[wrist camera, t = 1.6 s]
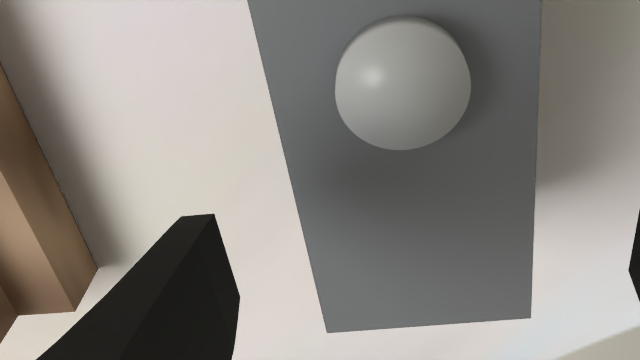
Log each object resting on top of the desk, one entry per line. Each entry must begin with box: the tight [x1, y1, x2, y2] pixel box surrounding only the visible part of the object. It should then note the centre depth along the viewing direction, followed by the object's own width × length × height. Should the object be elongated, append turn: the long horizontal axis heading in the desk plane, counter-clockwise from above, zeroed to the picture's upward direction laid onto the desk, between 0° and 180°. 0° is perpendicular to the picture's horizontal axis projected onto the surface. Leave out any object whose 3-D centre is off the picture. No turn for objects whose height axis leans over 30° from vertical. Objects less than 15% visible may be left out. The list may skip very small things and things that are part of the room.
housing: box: [247, 0, 541, 333], centre depth 14 cm, size 9×5×6 cm, turn 10°
